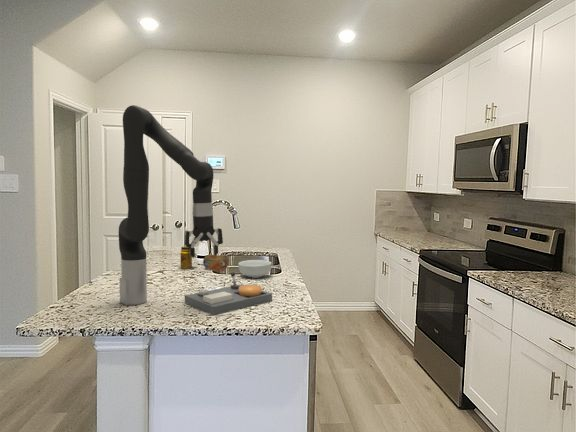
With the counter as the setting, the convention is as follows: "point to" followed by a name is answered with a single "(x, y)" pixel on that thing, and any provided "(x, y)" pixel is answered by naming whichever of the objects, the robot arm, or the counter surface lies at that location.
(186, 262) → the condiment
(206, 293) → the grey button
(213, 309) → the control panel
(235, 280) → the toggle lever
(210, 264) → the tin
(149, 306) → the counter surface
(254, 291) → the orange button
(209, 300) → the key
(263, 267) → the cereal bowl
